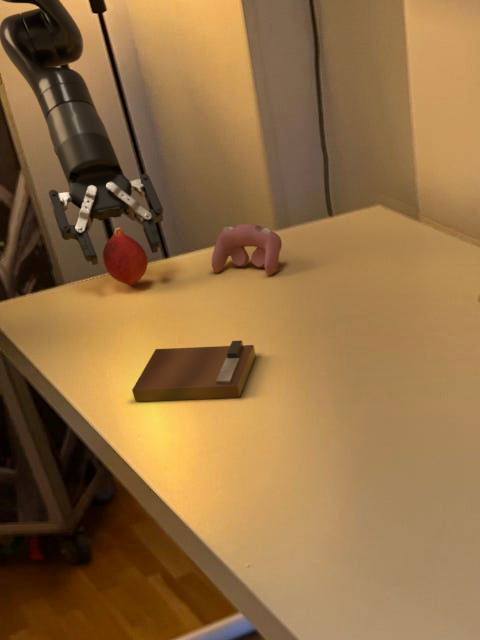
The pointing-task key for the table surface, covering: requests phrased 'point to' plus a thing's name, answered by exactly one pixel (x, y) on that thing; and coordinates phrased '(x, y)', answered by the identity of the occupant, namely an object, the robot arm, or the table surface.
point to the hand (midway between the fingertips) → (125, 255)
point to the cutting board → (195, 373)
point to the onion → (124, 258)
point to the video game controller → (241, 237)
